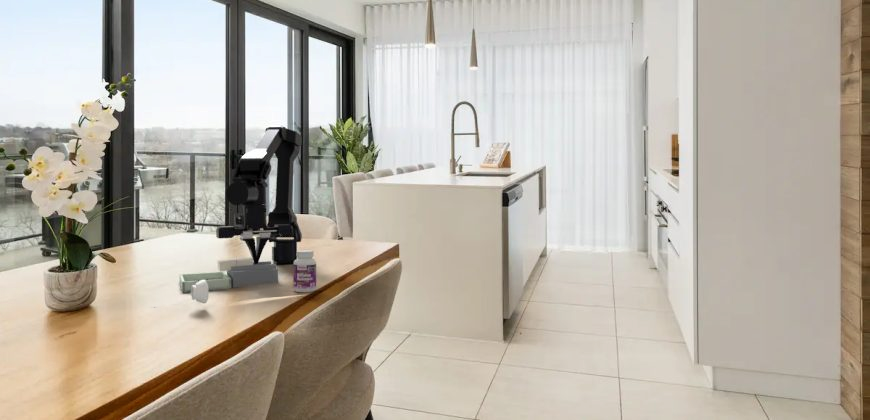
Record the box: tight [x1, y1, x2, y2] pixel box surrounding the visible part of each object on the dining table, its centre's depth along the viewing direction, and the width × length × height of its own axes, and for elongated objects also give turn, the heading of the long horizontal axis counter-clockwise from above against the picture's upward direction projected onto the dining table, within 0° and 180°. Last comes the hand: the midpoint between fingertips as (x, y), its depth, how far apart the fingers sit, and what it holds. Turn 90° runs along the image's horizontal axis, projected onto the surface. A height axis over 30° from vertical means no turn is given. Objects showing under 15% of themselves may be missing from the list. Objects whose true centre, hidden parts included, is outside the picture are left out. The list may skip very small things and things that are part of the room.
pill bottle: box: [292, 249, 317, 293], centre depth 135 cm, size 5×5×10 cm
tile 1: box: [216, 257, 236, 272], centre depth 144 cm, size 4×4×2 cm
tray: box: [179, 271, 232, 293], centre depth 142 cm, size 11×14×2 cm
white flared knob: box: [190, 280, 210, 304], centre depth 120 cm, size 5×3×5 cm, turn 33°
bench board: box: [226, 260, 279, 288], centre depth 147 cm, size 11×12×5 cm
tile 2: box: [233, 257, 253, 266], centre depth 146 cm, size 4×4×2 cm
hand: (255, 264), depth 147 cm, fingers closed
